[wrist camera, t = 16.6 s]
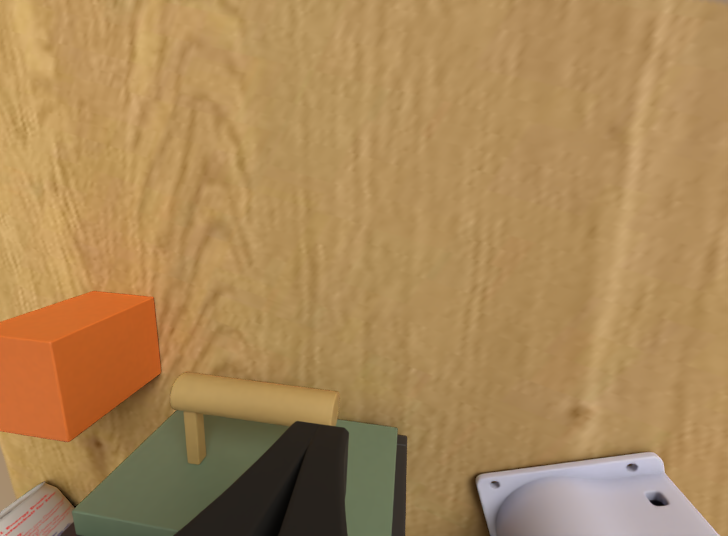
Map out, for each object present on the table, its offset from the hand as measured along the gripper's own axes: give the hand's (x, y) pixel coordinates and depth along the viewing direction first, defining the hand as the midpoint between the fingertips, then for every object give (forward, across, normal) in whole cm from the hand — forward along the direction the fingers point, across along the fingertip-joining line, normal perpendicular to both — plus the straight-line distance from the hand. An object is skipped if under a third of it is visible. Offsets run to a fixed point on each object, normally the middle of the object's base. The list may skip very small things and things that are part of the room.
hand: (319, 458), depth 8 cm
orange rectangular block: (+10, +15, +3) cm, 18 cm away
